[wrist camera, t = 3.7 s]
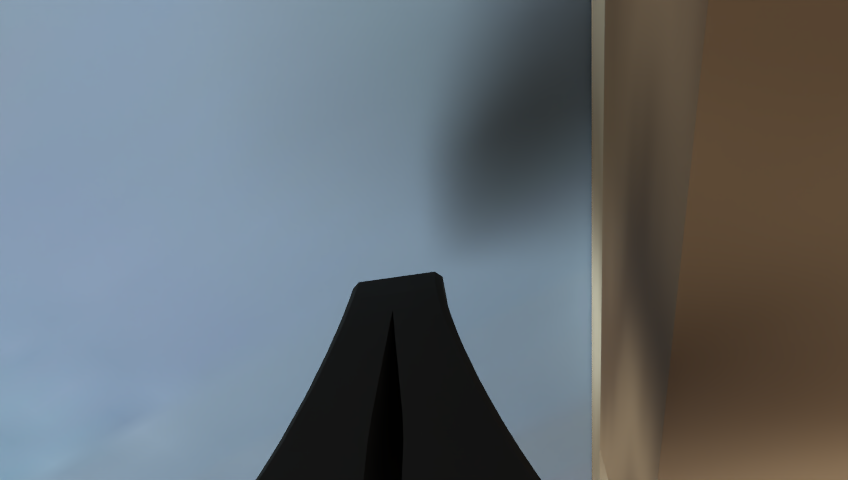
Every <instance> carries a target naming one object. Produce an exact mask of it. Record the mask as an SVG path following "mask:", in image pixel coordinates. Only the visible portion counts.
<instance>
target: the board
mask: <svg viewBox="0 0 848 480" xmlns="http://www.w3.org/2000/svg"><path fill="white" fill-rule="evenodd" d="M604 33H605V0H592V480H608V477H607V473H606V469H605V466H604V462H603V458H602V455H601V451H600V393H601V303H602V213H603V123H604Z"/></svg>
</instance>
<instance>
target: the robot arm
mask: <svg viewBox="0 0 848 480" xmlns="http://www.w3.org/2000/svg"><path fill="white" fill-rule="evenodd" d="M256 480H541V479H540V478H539V476H538V475H537V473H536V472H535V470H534V469H533V467H532V466H531V465H530V463H529V462H528V460H527V459H526V457H525V456H524V454H523V453H522V451H521V450H520V448H519V446H518V445H517V443H516V442H515V440H514V439H513V437H512V435H511V434H510V432H509V431H508V429H507V427H506V426H505V424H504V422H503V421H502V419H501V417H500V416H499V414H498V412H497V410H496V409H495V407H494V405H493V403H492V402H491V400H490V398H489V396H488V395H487V393H486V391H485V389H484V387H483V385H482V383H481V382H480V380H479V378H478V376H477V374H476V372H475V370H474V367H473V365H472V363H471V361H470V359H469V357H468V355H467V353H466V351H465V349H464V347H463V344H462V342H461V340H460V337H459V335H458V333H457V330H456V327H455V325H454V322H453V319H452V317H451V314H450V311H449V308H448V304H447V298H446V293H445V288H444V282H443V277H442V276H441V275H439V274H437V273H436V272H430V273H422V274H415V275H408V276H401V277H394V278H387V279H379V280H372V281H365V282H359V283H358V284H357V285H356V286H355V287H354V288H353V291H352V294H351V297H350V299H349V302H348V305H347V307H346V310H345V312H344V315H343V317H342V320H341V322H340V325H339V327H338V329H337V332H336V334H335V336H334V338H333V341H332V343H331V345H330V347H329V350H328V352H327V354H326V356H325V358H324V360H323V362H322V364H321V366H320V368H319V370H318V372H317V374H316V376H315V378H314V380H313V382H312V384H311V386H310V388H309V390H308V392H307V394H306V396H305V398H304V400H303V402H302V403H301V405H300V407H299V409H298V410H297V412H296V414H295V416H294V418H293V419H292V421H291V423H290V425H289V426H288V428H287V430H286V432H285V433H284V435H283V437H282V439H281V441H280V442H279V444H278V446H277V447H276V449H275V450H274V452H273V454H272V455H271V457H270V459H269V460H268V462H267V463H266V465H265V466H264V468H263V470H262V471H261V473H260V474H259V476H258V477H257V479H256Z"/></svg>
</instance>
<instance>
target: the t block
mask: <svg viewBox="0 0 848 480" xmlns="http://www.w3.org/2000/svg"><path fill="white" fill-rule="evenodd" d="M600 451H601V455H602V458H603V462H604V466H605V469H606V473H607V477H608V480H848V0H605V33H604V123H603V213H602V303H601V393H600Z"/></svg>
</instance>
